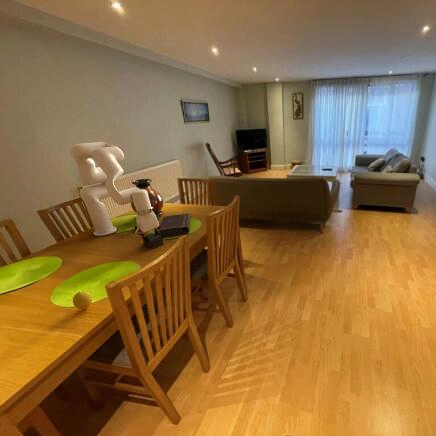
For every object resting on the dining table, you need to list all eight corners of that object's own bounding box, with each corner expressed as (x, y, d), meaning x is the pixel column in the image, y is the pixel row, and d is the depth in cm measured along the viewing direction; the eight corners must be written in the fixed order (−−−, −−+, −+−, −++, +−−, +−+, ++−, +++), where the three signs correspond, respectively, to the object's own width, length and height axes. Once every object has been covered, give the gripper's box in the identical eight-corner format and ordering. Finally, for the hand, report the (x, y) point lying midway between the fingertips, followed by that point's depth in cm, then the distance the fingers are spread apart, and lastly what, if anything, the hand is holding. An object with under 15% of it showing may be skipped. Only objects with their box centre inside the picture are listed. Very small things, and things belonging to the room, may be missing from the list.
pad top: (139, 231, 160) (138, 228, 159) (135, 229, 163) (134, 226, 162) (154, 226, 168) (153, 222, 166) (149, 224, 170) (148, 221, 169)
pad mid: (143, 240, 143) (141, 236, 142) (152, 236, 147) (151, 232, 146) (152, 244, 138) (151, 240, 137) (162, 240, 142) (161, 236, 141)
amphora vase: (142, 211, 195) (133, 177, 184) (170, 210, 197) (162, 176, 186) (129, 222, 175) (117, 185, 164) (160, 220, 177) (150, 183, 166)
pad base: (144, 244, 144) (142, 240, 143) (153, 240, 148) (152, 236, 147) (153, 248, 139) (152, 244, 138) (163, 243, 143) (162, 240, 142)
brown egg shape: (83, 303, 97) (76, 288, 94) (98, 302, 98) (91, 287, 95) (73, 314, 92) (65, 297, 89) (88, 313, 93) (81, 296, 89)
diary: (190, 219, 178) (189, 212, 176) (189, 232, 157) (188, 226, 155) (163, 222, 173) (161, 216, 171) (158, 237, 151) (156, 230, 149)
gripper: (155, 205, 144) (162, 232, 151) (124, 215, 130) (134, 244, 137) (162, 207, 140) (169, 235, 147) (132, 217, 127) (141, 247, 134)
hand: (152, 239), depth 142 cm, fingers closed on pad mid, 6 cm apart
